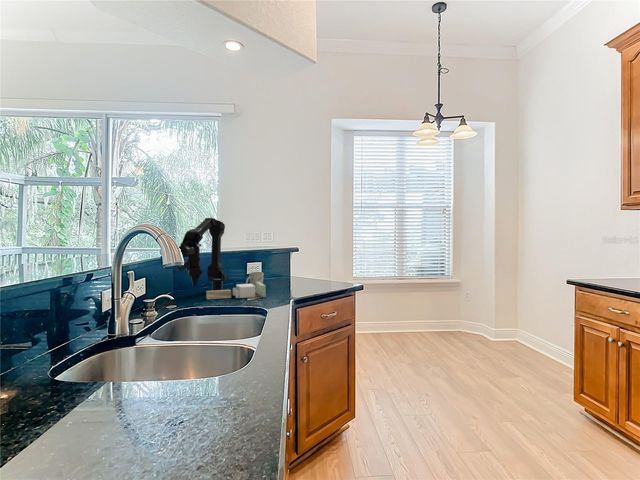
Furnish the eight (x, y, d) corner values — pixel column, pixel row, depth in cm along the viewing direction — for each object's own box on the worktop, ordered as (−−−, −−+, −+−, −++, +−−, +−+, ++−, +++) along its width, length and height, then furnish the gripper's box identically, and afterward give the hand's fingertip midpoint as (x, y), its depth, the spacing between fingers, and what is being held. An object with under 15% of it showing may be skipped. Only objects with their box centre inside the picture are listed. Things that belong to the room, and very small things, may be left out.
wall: (255, 292, 207) (255, 282, 207) (259, 292, 208) (259, 281, 208) (261, 297, 194) (261, 285, 194) (265, 296, 195) (265, 285, 195)
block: (232, 295, 200) (232, 284, 200) (251, 293, 204) (251, 283, 204) (236, 298, 191) (235, 287, 191) (255, 296, 195) (255, 286, 195)
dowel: (206, 298, 191) (206, 291, 191) (229, 296, 196) (229, 289, 196) (207, 300, 188) (207, 292, 188) (231, 298, 193) (231, 290, 193)
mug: (266, 289, 218) (266, 272, 217) (252, 292, 207) (251, 274, 207) (256, 288, 222) (256, 271, 222) (241, 291, 212) (240, 273, 211)
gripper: (175, 255, 192) (176, 285, 193) (177, 257, 175) (178, 290, 176) (198, 254, 197) (199, 283, 197) (202, 257, 180) (202, 289, 180)
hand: (194, 286), depth 188 cm, fingers closed
